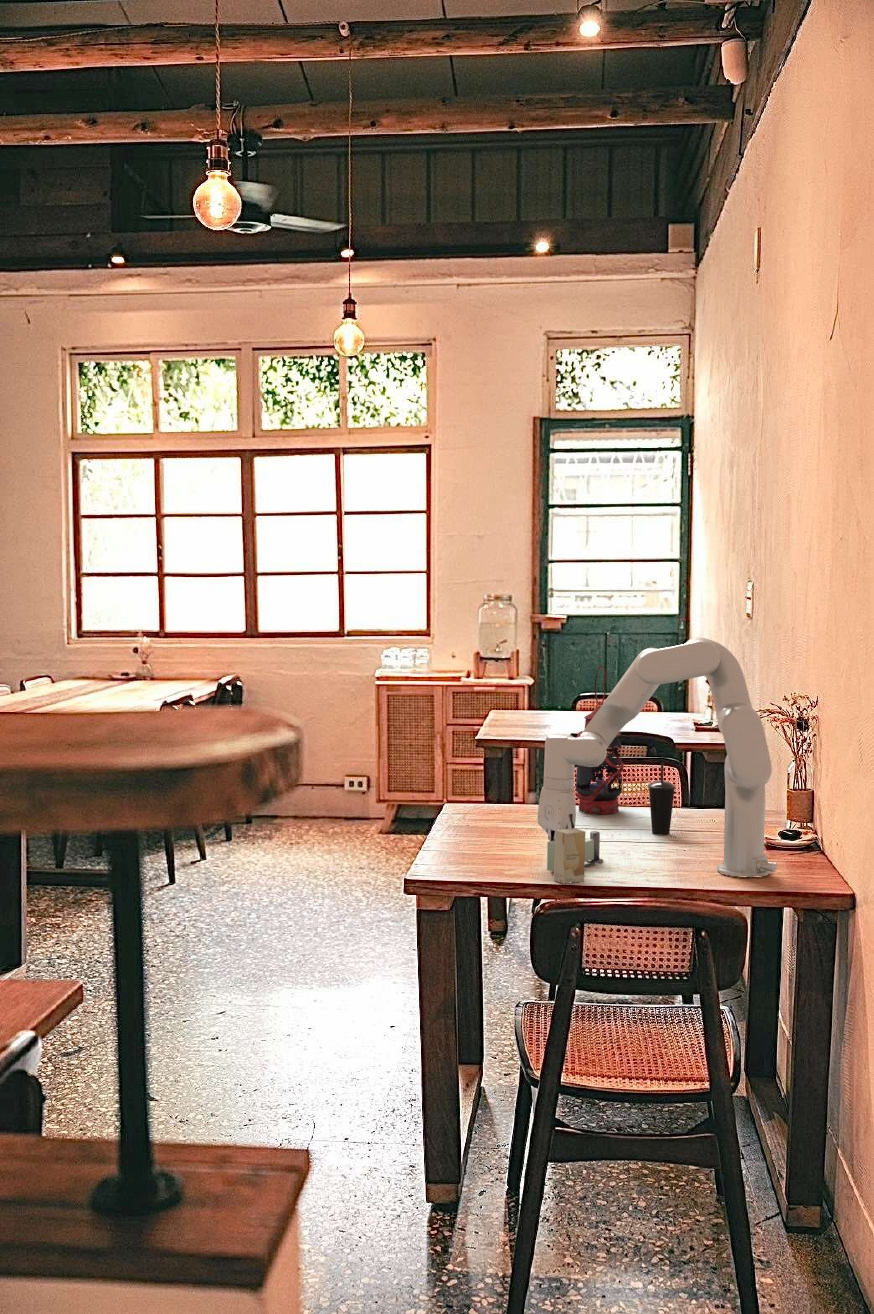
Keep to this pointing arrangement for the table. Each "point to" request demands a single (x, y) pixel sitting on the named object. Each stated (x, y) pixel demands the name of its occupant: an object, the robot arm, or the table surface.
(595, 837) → the dark grey rounded knob
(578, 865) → the skincare box
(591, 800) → the lantern
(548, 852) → the gate
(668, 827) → the drinking cup
